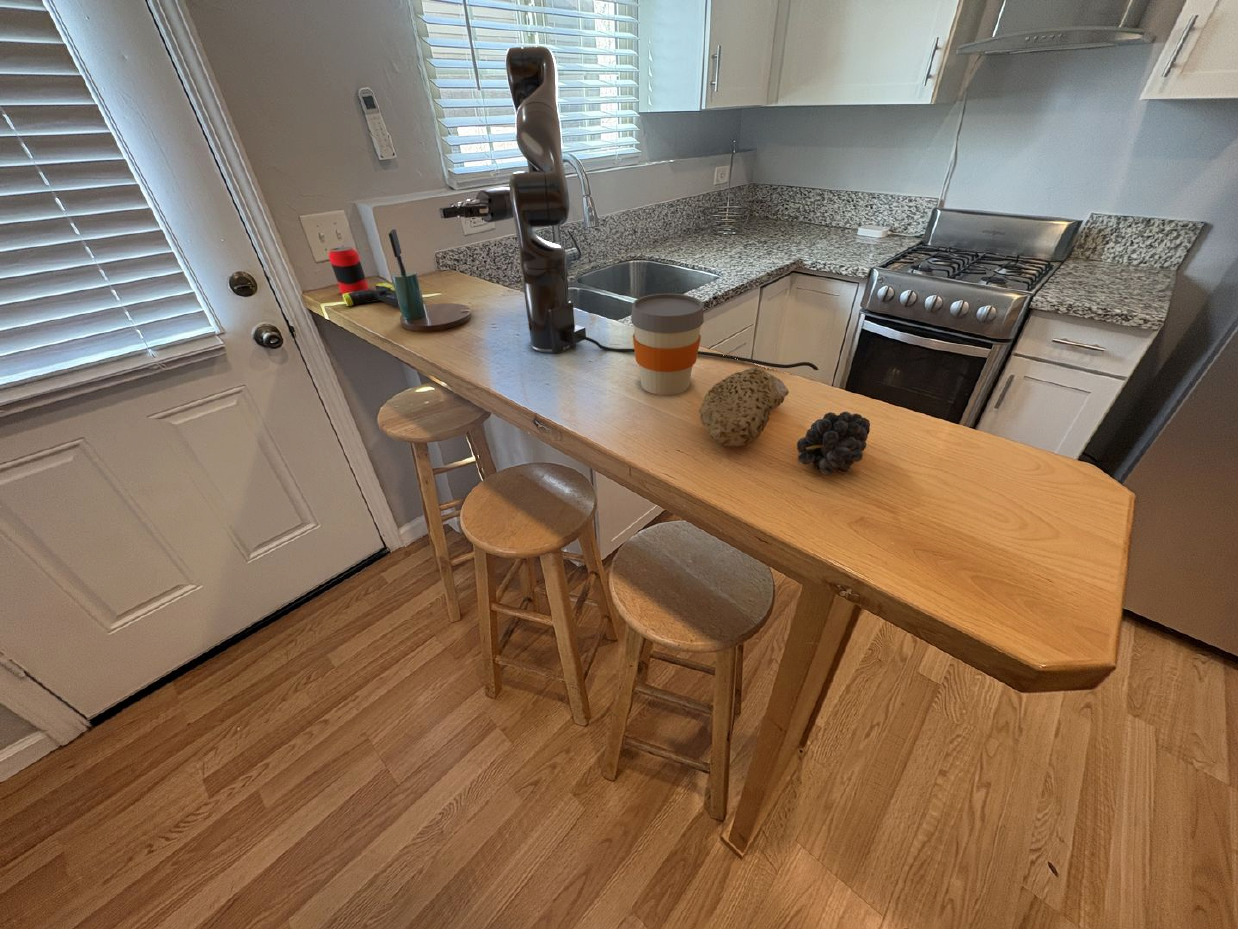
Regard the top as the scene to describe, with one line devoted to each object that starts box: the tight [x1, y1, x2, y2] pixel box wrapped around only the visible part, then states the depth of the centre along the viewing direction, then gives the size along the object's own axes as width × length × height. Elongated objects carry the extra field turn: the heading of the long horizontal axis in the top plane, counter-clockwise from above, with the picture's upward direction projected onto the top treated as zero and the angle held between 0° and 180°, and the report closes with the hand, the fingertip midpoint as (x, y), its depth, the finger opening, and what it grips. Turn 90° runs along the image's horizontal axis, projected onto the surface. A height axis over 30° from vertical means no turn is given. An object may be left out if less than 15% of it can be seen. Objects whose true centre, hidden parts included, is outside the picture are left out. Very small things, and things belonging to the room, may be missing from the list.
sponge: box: [698, 367, 789, 448], centre depth 78 cm, size 13×8×20 cm
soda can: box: [328, 246, 370, 295], centre depth 142 cm, size 8×8×12 cm
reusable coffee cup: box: [630, 293, 704, 396], centre depth 87 cm, size 13×13×15 cm
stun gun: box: [341, 282, 400, 309], centre depth 135 cm, size 3×19×15 cm
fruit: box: [796, 411, 871, 476], centre depth 69 cm, size 9×8×15 cm
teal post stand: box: [388, 229, 472, 332], centre depth 117 cm, size 17×17×20 cm
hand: (441, 213), depth 118 cm, fingers closed
